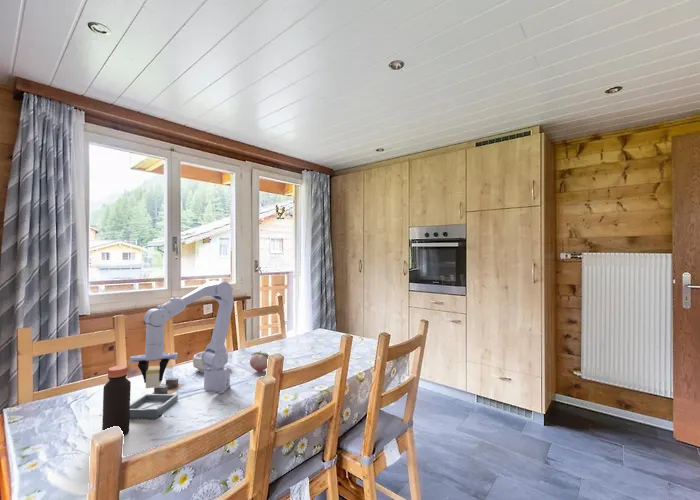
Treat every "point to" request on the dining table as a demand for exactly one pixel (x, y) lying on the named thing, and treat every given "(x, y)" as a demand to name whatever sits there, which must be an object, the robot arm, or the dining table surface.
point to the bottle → (117, 399)
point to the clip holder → (168, 387)
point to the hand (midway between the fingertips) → (153, 381)
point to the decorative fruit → (259, 361)
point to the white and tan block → (153, 377)
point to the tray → (151, 412)
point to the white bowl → (198, 361)
